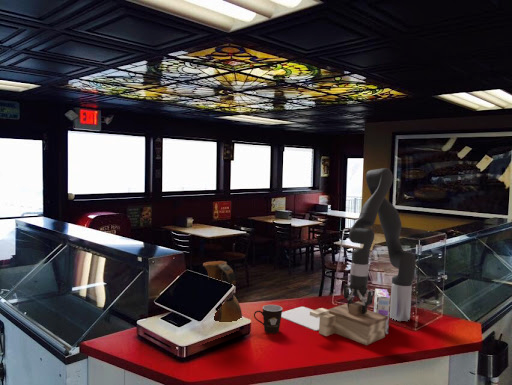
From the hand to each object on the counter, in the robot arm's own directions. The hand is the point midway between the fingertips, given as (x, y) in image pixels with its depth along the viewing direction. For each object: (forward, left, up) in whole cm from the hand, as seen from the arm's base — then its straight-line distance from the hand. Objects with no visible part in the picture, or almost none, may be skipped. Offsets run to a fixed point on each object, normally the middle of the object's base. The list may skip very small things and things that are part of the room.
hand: (357, 311), depth 188 cm
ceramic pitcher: (+46, -38, -10) cm, 60 cm away
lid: (0, 0, -2) cm, 2 cm away
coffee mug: (+28, -26, -10) cm, 40 cm away
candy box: (-15, +3, -10) cm, 18 cm away
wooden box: (+3, 0, -10) cm, 10 cm away
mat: (+2, -25, -10) cm, 27 cm away
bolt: (+16, -8, -1) cm, 18 cm away
